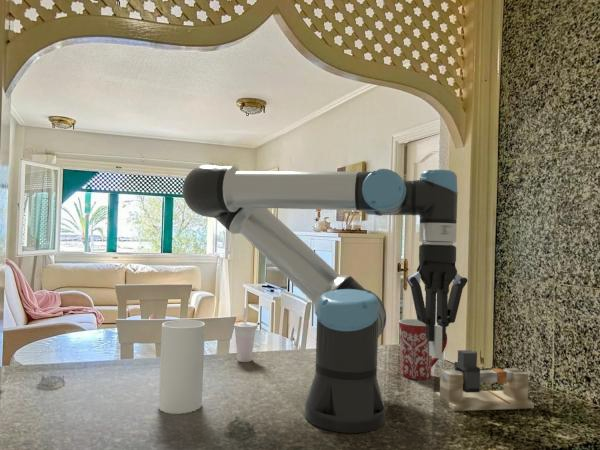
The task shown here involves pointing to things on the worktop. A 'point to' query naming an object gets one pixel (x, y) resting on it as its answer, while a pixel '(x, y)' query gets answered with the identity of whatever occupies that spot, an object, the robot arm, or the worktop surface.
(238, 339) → the smoothie
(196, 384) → the cup
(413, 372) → the mug
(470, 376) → the dark grey sliding collar
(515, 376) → the rail
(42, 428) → the worktop surface
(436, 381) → the worktop surface
